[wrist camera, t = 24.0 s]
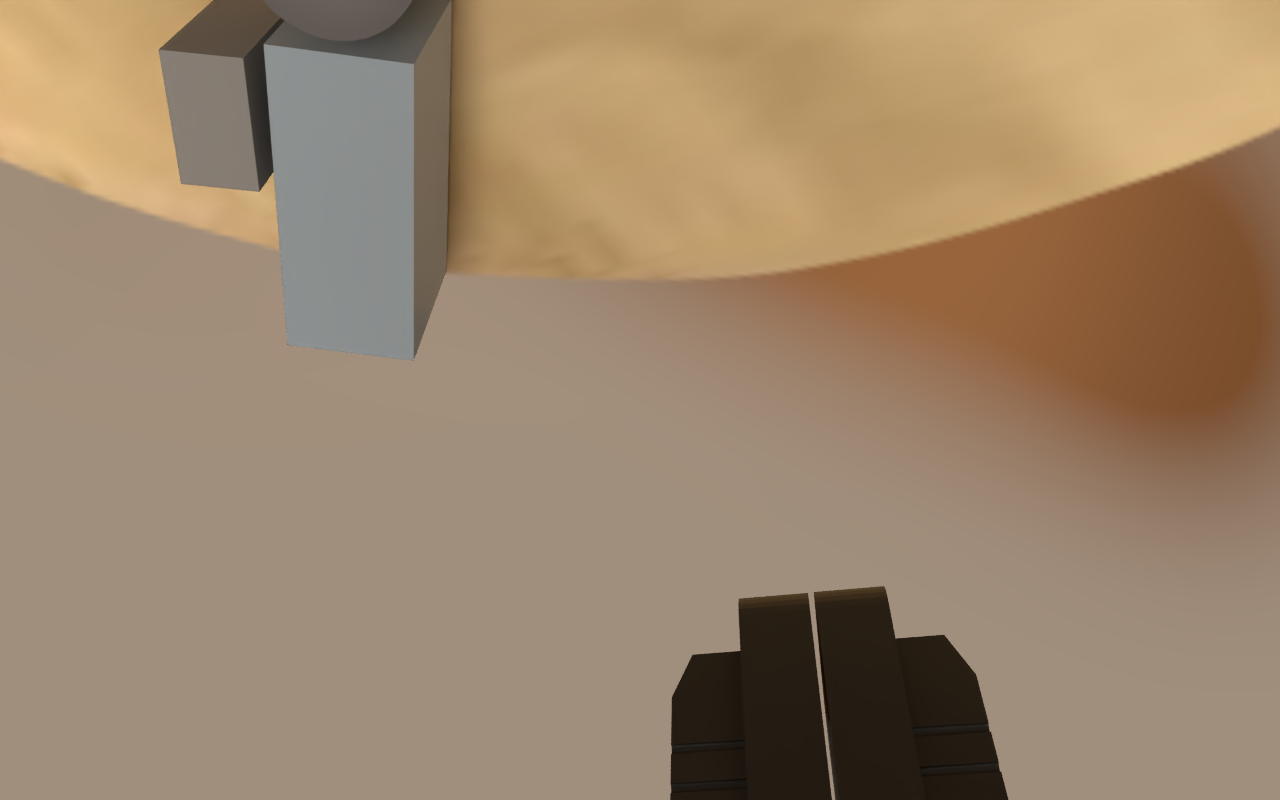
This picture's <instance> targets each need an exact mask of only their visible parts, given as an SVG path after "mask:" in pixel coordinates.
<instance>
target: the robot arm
mask: <svg viewBox="0 0 1280 800" xmlns="http://www.w3.org/2000/svg"><path fill="white" fill-rule="evenodd" d="M814 598H815V609H816V621H817V632H818V642H819V652H820V664H821V674H822V685H823V695H824V705H825V714H826V723H827V732H828V741H829V750H830V758H831V766H832V775H833V783H834V791H835V800H1008V796H1007V793H1006V789H1005V785H1004V781H1003V777H1002V773H1001V772H1000V770H999V764H998V763H999V762H998V758H997V754H996V750H995V746H994V742H993V738H992V734H991V732H990V731H989V725H988V719H987V715H986V711H985V707H984V704H983V700H982V696H981V692H980V688H979V684H978V680H977V676H976V674H975V673H974V672H973V670H972V669H971V668H970V666H969V665H968V664H967V663H966V662H965V660H964V659H963V658H962V657H961V655H960V654H959V653H958V652H957V650H956V649H955V648H954V647H953V645H952V644H951V643H950V642H949V641H948V639H947V638H946V637H945V635H936V636H924V637H910V638H897V639H895V634H894V629H893V623H892V618H891V613H890V608H889V603H888V598H887V594H886V590H885V587H884V586H882V587H870V588H858V589H847V590H834V591H822V592H814ZM739 628H740V649H741V651H735V652H723V653H710V654H697V655H692V657H691V659H690V661H689V663H688V666H687V668H686V670H685V672H684V674H683V676H682V678H681V680H680V682H679V684H678V686H677V688H676V690H675V692H674V694H673V697H672V728H671V730H672V731H671V745H672V754H671V798H670V799H671V800H832V797H831V789H830V780H829V771H828V763H827V755H826V746H825V737H824V728H823V719H822V711H821V702H820V693H819V685H818V677H817V667H816V659H815V650H814V642H813V633H812V624H811V615H810V607H809V599H808V593H803V594H791V595H778V596H766V597H754V598H742V599H739Z"/></svg>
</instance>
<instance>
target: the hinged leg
mask: <svg viewBox="0 0 1280 800" xmlns="http://www.w3.org/2000/svg"><path fill="white" fill-rule="evenodd" d="M263 1H264V2H265V3H266V5H267V6H268V7H269V8H270V9H271V10H272V11H274V12H275V13H276V14H277V15H278V16H279V17H281V18H282V19H283V20H284V22H283V23H282V24H281V25H280V26H279V28H278V29H277V30H276V31H275V32H274V33H273V34H272V35H271V36H270V37H269V39H268V40H267V41H266V42H265V43H264V57H265V69H266V82H267V94H268V107H269V119H270V132H271V144H272V157H273V169H274V182H275V194H276V207H277V219H278V232H279V244H280V257H281V269H282V282H283V294H284V306H285V319H286V332H287V344H288V345H292V346H300V347H308V348H316V349H324V350H333V351H340V352H348V353H356V354H364V355H372V356H380V357H389V358H396V359H404V360H412V361H414V358H415V356H416V353H417V350H418V347H419V344H420V342H421V339H422V336H423V333H424V331H425V328H426V325H427V322H428V319H429V317H430V314H431V311H432V308H433V306H434V303H435V300H436V297H437V294H438V292H439V289H440V286H441V283H442V281H443V278H444V275H445V273H446V263H447V215H448V168H449V120H450V72H451V24H452V0H263Z"/></svg>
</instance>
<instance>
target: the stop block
mask: <svg viewBox="0 0 1280 800" xmlns="http://www.w3.org/2000/svg"><path fill="white" fill-rule="evenodd" d="M283 22H284V20H283V19H282V18H281V17H279V16H278V15H277V14H276V13H275V12H274V11H272V10H271V9H270V8H269V7H268V6H267V5H266V3H265V2H264V1H263V0H213V1H212V2H211V3H210V4H209V5H208V6H207V7H206V8H204V9H203V10H202V11H201V12H200V13H199V14H198V15H197V16H196V17H194V18H193V19H192V20H191V21H190V22H189V23H188V24H187V25H186V26H184V27H183V28H182V29H181V30H180V31H179V32H178V33H177V34H176V35H174V36H173V37H172V38H171V39H170V40H169V41H168V42H167V43H166V44H164V45H163V46H162V47H161V48H160V49H159V54H160V60H161V66H162V72H163V78H164V84H165V90H166V96H167V102H168V108H169V114H170V120H171V126H172V132H173V138H174V144H175V150H176V156H177V162H178V168H179V174H180V180H181V184H188V185H198V186H208V187H218V188H227V189H237V190H247V191H257V192H260V190H261V189H262V187H263V186H264V184H265V183H266V182H267V180H268V179H269V177H270V176H271V174H272V173H273V172H274V169H273V157H272V144H271V132H270V119H269V107H268V94H267V82H266V69H265V57H264V43H265V42H266V41H267V40H268V39H269V37H270V36H271V35H272V34H273V33H274V32H275V31H276V30H277V29H278V28H279V26H280V25H281V24H282V23H283Z"/></svg>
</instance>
